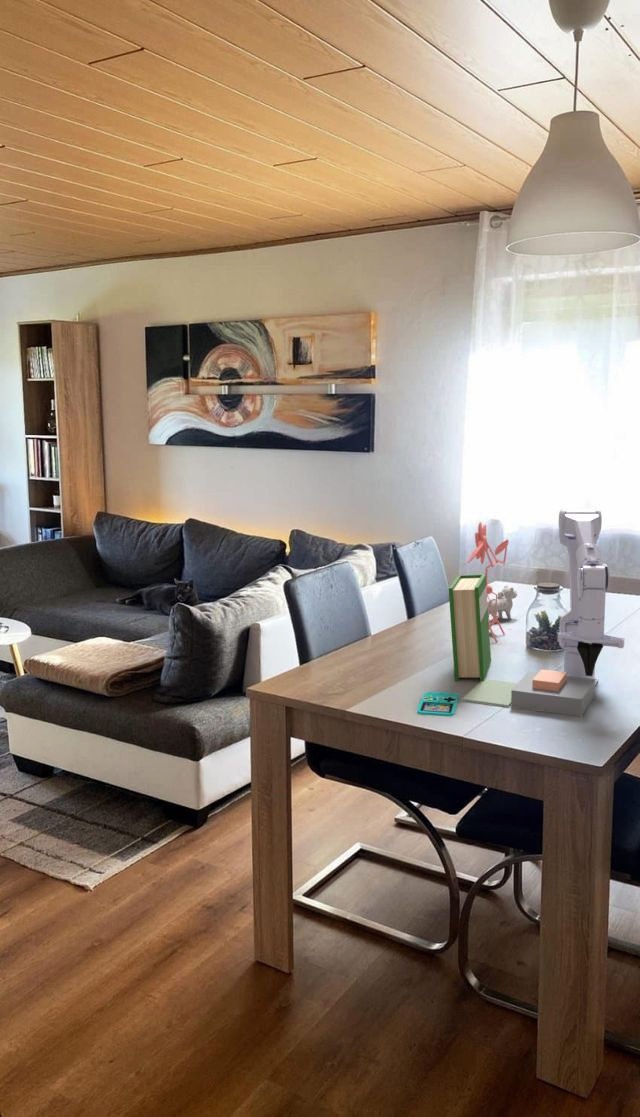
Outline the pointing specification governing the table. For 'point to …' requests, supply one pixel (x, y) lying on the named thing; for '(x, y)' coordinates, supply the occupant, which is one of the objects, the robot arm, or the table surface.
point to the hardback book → (470, 626)
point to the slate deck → (554, 696)
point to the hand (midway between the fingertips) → (589, 674)
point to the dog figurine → (503, 602)
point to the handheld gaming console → (438, 703)
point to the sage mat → (491, 693)
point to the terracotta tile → (549, 680)
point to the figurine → (480, 551)
